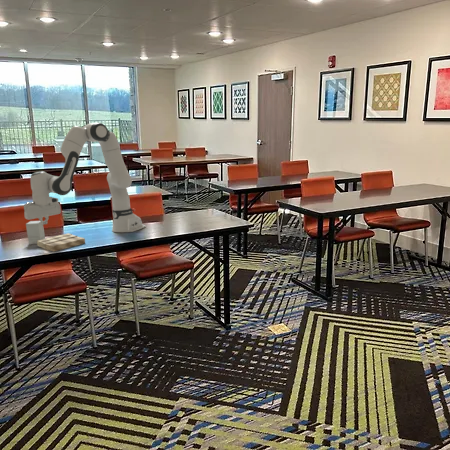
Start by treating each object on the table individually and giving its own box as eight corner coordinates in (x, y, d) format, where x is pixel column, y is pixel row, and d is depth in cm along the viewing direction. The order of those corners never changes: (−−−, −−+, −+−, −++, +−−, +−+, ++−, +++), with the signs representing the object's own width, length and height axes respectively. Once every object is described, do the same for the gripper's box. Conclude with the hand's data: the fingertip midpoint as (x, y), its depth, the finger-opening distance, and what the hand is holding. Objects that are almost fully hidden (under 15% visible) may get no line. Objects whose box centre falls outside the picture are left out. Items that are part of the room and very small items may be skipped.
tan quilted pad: (68, 237, 256) (68, 232, 255) (76, 241, 251) (76, 235, 250) (37, 245, 241) (37, 240, 240) (45, 249, 236) (45, 243, 235)
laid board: (77, 241, 251) (76, 235, 250) (85, 243, 246) (84, 237, 245) (46, 249, 236) (45, 243, 235) (53, 251, 231) (53, 245, 230)
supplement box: (45, 240, 255) (43, 220, 252) (41, 243, 247) (38, 223, 244) (33, 241, 254) (30, 220, 251) (28, 244, 247) (25, 223, 244)
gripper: (26, 203, 226) (29, 228, 229) (60, 198, 241) (63, 221, 245) (20, 202, 230) (23, 227, 233) (54, 197, 245) (57, 220, 248)
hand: (44, 224), depth 239 cm, fingers closed
